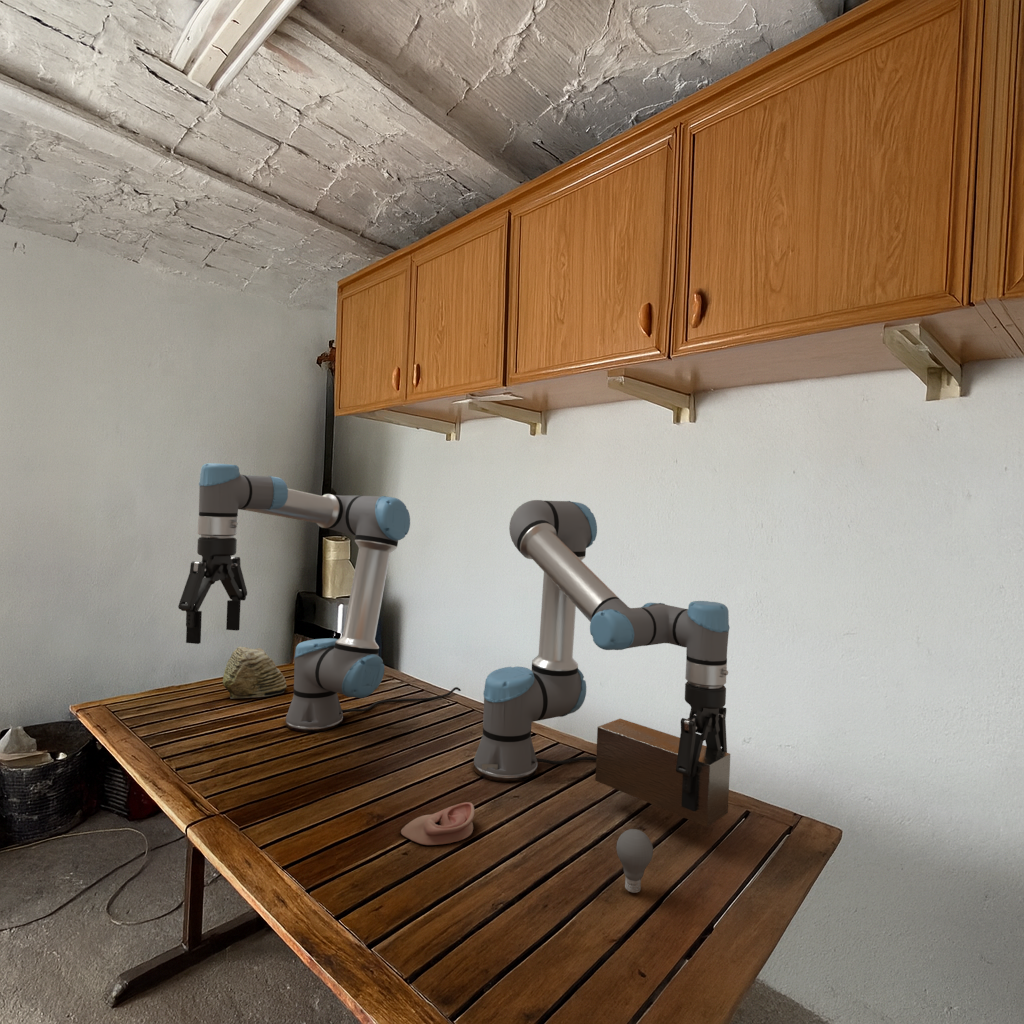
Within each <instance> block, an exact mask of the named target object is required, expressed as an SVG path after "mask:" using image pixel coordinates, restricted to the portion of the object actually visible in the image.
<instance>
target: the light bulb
mask: <svg viewBox="0 0 1024 1024" xmlns="http://www.w3.org/2000/svg"><path fill="white" fill-rule="evenodd" d="M615 849H616V854H617V857H618V859H619V861H620V863H621V865H622V867H623V873H624V874H623V875H624V876H625V878H624V888H625V890H627V891H628V892H630V893H634V894H635V893H639V892H640V891H641V889H642V887H641V886H642V879H643V877H644V875H645V871H646V868H647V867H648V866H649V864H650V863H651V861H652V859H653V855H654V847H653V843H652V841H651V838H649V836H648V835H647V834H646V833H645V832H643V831H642V830H641V829H636V828H629V829H627V830H625V831H623V832H622V833H621V834H620V835H619V837H618V839H617V841H616V847H615Z"/></svg>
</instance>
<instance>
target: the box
mask: <svg viewBox="0 0 1024 1024" xmlns="http://www.w3.org/2000/svg"><path fill="white" fill-rule="evenodd" d="M679 742H680V736H677V735H673V734H669V733H667V732H663V731H661V730H658V729H654V728H652V727H649V726H645V725H641V724H639V723H636V722H633V721H630V720H626V719H623V718H617V719H615V720H612V721H609V722H606V723H604V724H601V725H599V726H597V728H596V753H595V754H596V755H595V757H596V761H595V778H594V781H596V782H597V783H600V784H603V785H605V786H607V787H609V788H612V789H614V790H616V791H619V792H621V793H624V794H626V795H629V796H631V797H634V798H636V799H639V800H641V801H643V802H646V803H648V804H651V805H653V806H655V807H657V808H659V809H663V810H665V811H667V812H670V813H672V814H674V815H677V816H679V817H682V818H684V819H687V820H689V821H691V822H693V823H695V824H698V825H701V826H703V827H706V828H709V827H710V826H711V825H713V824H714V823H716V822H717V821H718V820H720V819H722V818H723V817H724V816H726V815H727V814H729V799H730V798H729V795H730V773H731V753H729V752H727V753H726V752H723V751H720V750H716V749H712V748H709V747H707V746H706V745H705V744H702V749H701V753H700V757H699V761H698V765H697V770H696V774H695V775H698V788H697V810H696V811H695V812H694V811H692V810H689V809H687V808H684V807H682V782H683V774H681V773H678V772H676V764H677V757H678V749H679Z"/></svg>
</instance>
